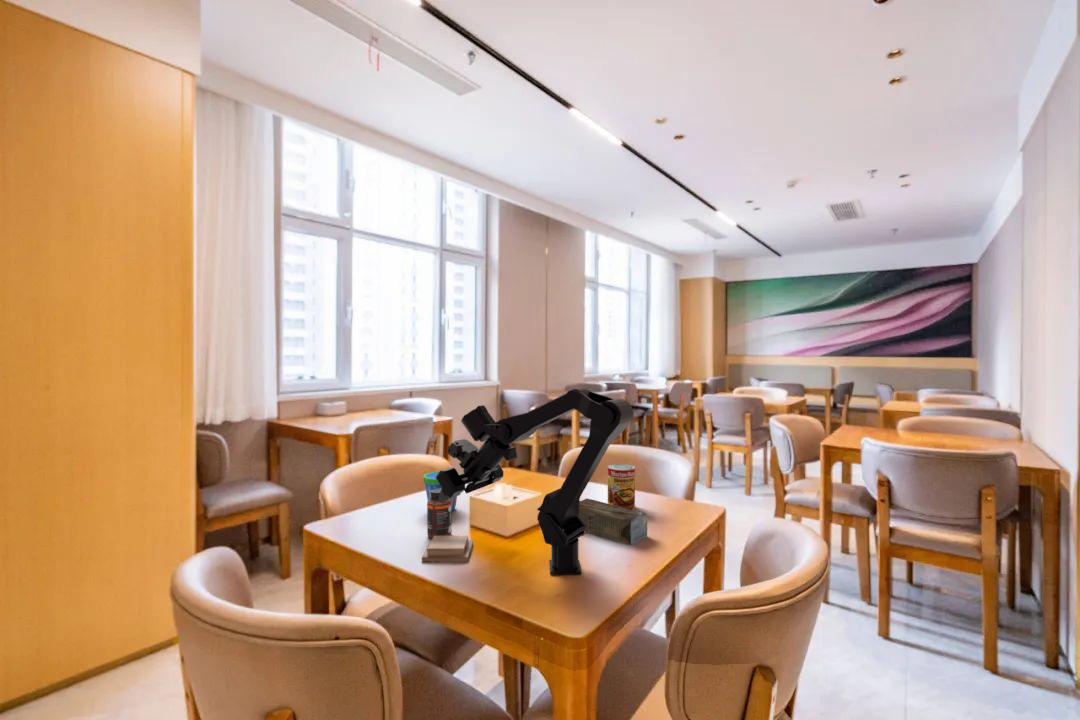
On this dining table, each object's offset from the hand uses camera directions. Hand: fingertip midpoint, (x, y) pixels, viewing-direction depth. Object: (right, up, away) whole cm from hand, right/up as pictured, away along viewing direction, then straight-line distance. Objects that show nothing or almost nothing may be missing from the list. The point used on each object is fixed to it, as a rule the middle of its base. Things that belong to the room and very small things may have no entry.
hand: (453, 496), depth 127 cm
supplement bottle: (-4, -11, +3) cm, 12 cm away
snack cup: (-7, -10, +24) cm, 27 cm away
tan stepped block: (0, -11, -8) cm, 13 cm away
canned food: (+45, -10, +25) cm, 53 cm away
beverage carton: (+38, -11, +5) cm, 40 cm away
